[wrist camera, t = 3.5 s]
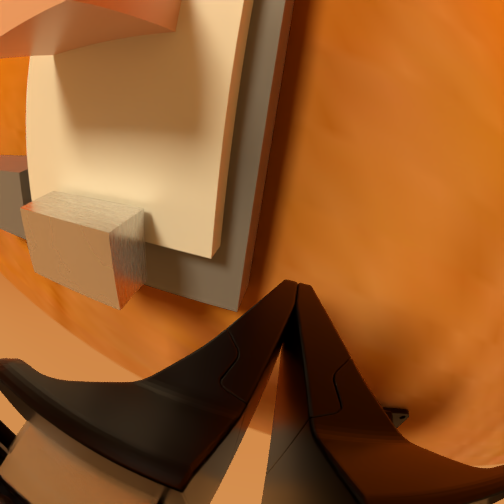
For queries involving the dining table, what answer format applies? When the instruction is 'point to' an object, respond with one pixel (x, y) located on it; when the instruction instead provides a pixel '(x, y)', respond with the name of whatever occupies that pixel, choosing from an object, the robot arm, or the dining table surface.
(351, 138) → the dining table surface
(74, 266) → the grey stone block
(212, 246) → the cover
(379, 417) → the robot arm
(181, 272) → the case
